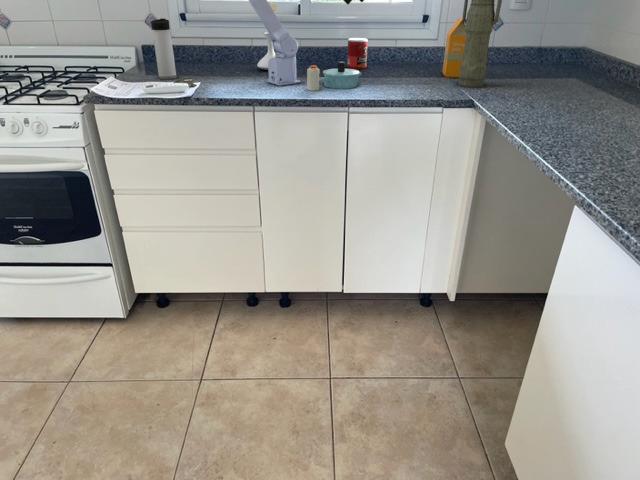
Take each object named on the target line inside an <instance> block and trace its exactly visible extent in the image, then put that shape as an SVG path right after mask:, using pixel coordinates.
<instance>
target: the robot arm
mask: <svg viewBox="0 0 640 480" xmlns="http://www.w3.org/2000/svg"><path fill="white" fill-rule="evenodd" d="M352 1H353V0H343V2H344V3H345V4H346V5H350V4H351V3H352ZM364 1H365V0H359V2H360V3H363V2H364ZM248 2H249V3H250V5H251V7H252V8H253V10H254V11H255V13H256V14H257V16H258V18H259V19H260V21H261V23H262V24H263V26H264V28H265V29H266V30H267V32H269V34H270V38H271V40H272V43H273V48H274V52H275V57H274V58H271V59H270V60H269V63H268V70H267V71H268V80H267V82H268V83H270V84H273V85H276V86H280V87H281V86H287V85H294V84H299V83H300V84H301V83H302V80H299V79H297V53H298V51H299V43H298V41H297V39H296V38H295V37H293V36H291V34H290V33H289V31H288V30H287V29H286V28H285V27H284V26H283V23H281V21H280V19H279V18H278V16H277V15H276V13H274V11H273V10H272V8H271V6H270V5H269V4H270V2H269V1H268V0H248ZM268 2H269V3H268Z"/></svg>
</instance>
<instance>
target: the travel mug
mask: <svg viewBox="0 0 640 480" xmlns="http://www.w3.org/2000/svg"><path fill="white" fill-rule="evenodd" d="M150 25H151V31H152V32H151V33H152V34H151V35H152V40H153V46H154V53H155V59H156V65H157V72H158V78H159V80H174V79H176V78H177V69H176V63H175V62H176V61H175V54H174V47H173V40H172V32H171V27H170V20H169V19H166V18H163V17H162V18H159V19H152V20H151V21H150Z"/></svg>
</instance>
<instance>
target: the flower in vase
mask: <svg viewBox="0 0 640 480" xmlns="http://www.w3.org/2000/svg"><path fill="white" fill-rule="evenodd" d="M268 3H269V5H270V6H271V8H272V10H273V11H274V13H275V14H277V13H278V11H277V9H278V6H277V5H276V3H274V2H273V1H272V0H271V1H270V2H269V1H268ZM263 35H264V36H265V39H266V41H267V42H266V43H267V53H266V54H265V55H264V56H263V57H262V58H261V59H260V60H259V61H258V63H257V67H258V69H261V70H265V71H269V70H268V63H269V60H270V59H271V58H274V57H275V54H276V51H275V50H274V48H273V43H272V40H271V38H270V34H269V32H268V31H265V32H263Z"/></svg>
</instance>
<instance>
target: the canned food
mask: <svg viewBox="0 0 640 480" xmlns="http://www.w3.org/2000/svg"><path fill="white" fill-rule="evenodd" d="M367 58H368V38H365V37H350V38H348V39H347V69H353V70H364V69H366V68H367V61H368V60H367Z"/></svg>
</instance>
